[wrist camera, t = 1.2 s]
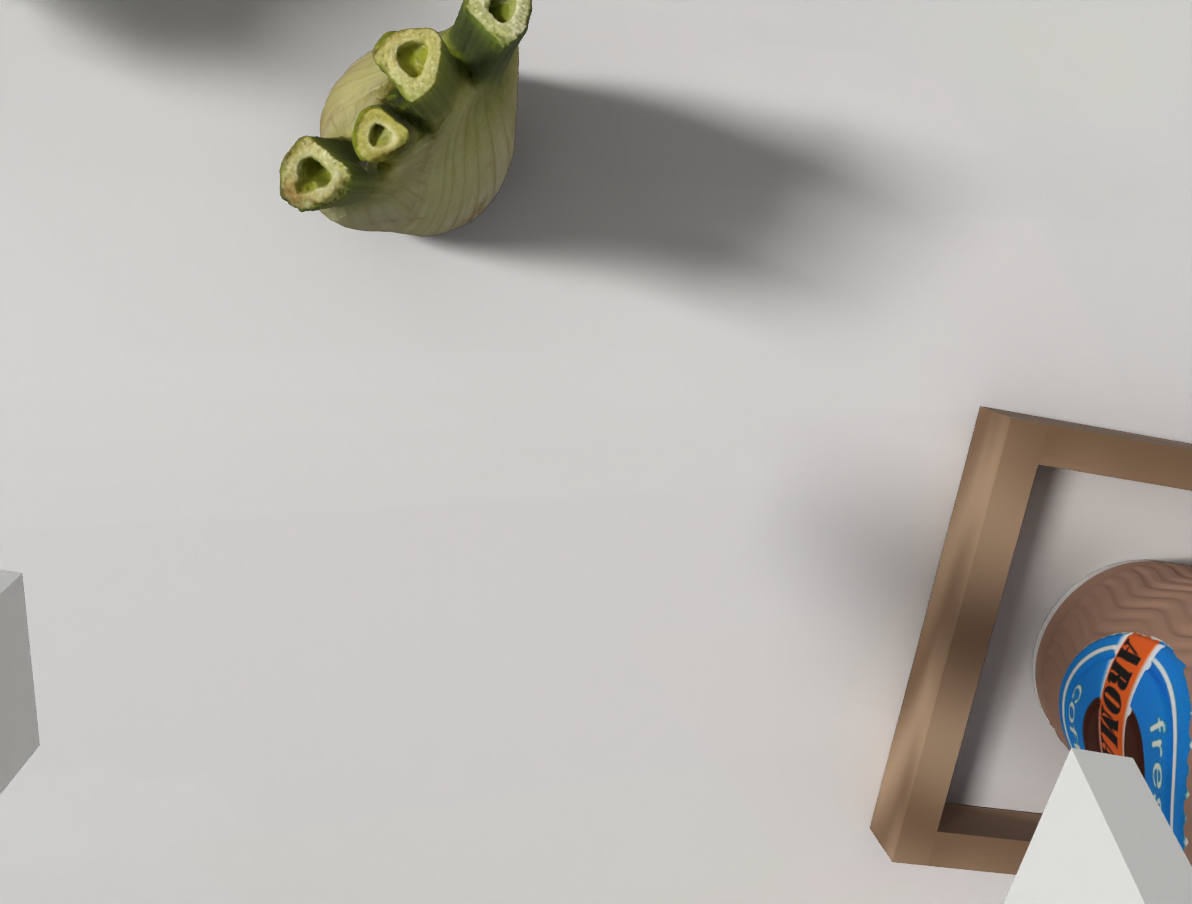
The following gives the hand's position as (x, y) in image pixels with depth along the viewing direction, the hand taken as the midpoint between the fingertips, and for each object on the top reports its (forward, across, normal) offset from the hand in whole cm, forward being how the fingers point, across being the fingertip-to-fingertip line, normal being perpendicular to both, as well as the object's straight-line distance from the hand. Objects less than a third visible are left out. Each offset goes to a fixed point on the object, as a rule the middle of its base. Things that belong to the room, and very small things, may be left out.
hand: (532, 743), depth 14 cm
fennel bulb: (+21, +6, -3) cm, 22 cm away
